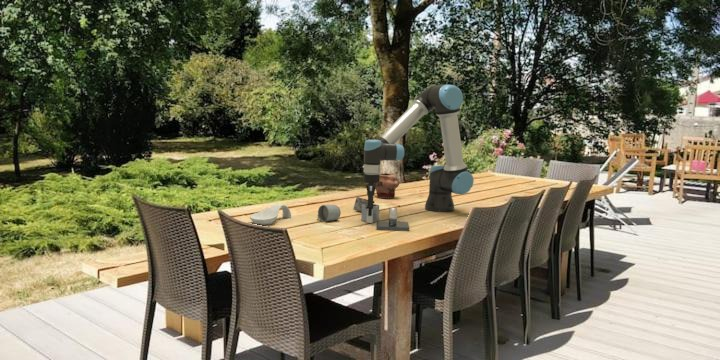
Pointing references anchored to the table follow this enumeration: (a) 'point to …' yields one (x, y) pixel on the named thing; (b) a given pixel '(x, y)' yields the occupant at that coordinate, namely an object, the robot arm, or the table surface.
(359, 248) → the table surface
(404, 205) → the table surface
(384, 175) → the decorative planter
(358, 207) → the caster wheel
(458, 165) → the robot arm
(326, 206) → the ceramic mug
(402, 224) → the shaft block
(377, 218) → the tube
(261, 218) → the spoon rest
